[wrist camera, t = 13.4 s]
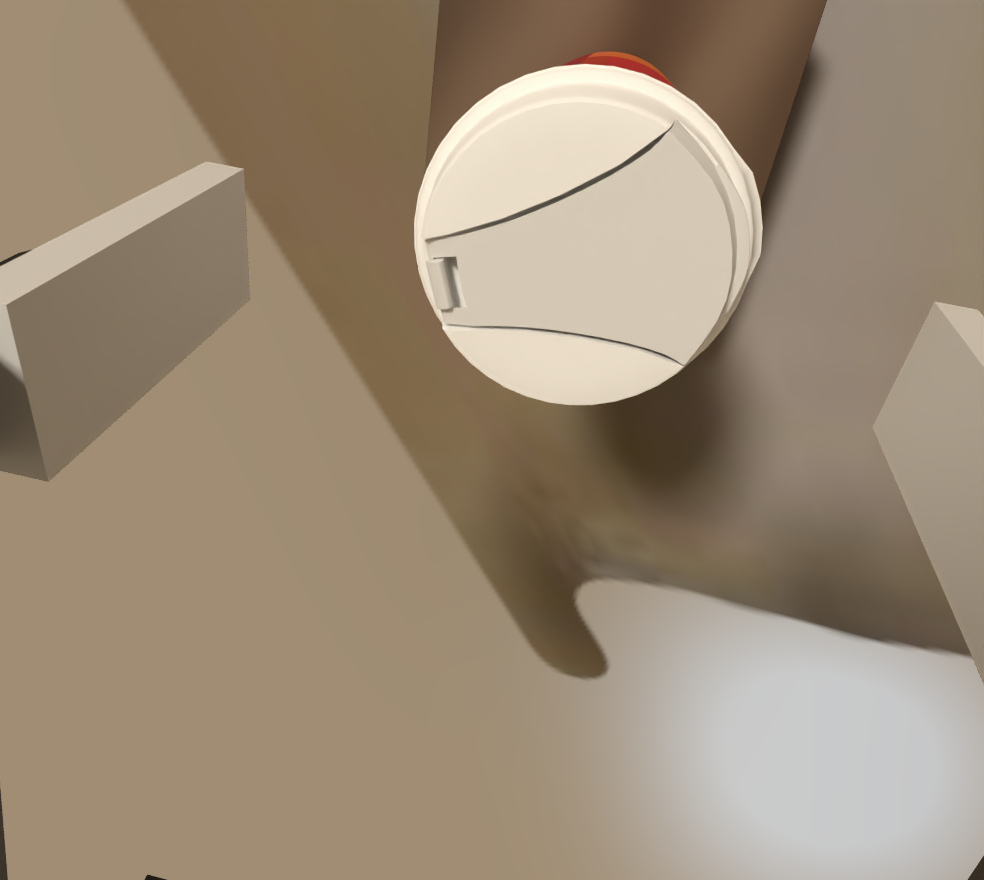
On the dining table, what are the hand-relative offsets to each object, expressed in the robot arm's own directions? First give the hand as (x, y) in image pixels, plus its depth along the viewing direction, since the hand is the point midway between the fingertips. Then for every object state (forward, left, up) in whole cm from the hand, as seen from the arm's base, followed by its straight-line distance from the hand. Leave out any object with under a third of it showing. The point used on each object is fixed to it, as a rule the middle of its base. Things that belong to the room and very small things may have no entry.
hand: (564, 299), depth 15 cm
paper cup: (0, 0, -16) cm, 16 cm away
